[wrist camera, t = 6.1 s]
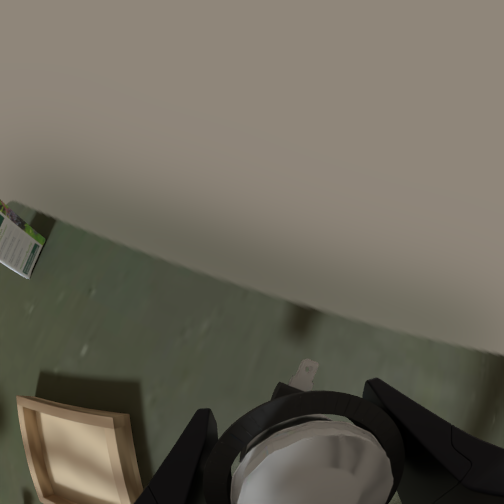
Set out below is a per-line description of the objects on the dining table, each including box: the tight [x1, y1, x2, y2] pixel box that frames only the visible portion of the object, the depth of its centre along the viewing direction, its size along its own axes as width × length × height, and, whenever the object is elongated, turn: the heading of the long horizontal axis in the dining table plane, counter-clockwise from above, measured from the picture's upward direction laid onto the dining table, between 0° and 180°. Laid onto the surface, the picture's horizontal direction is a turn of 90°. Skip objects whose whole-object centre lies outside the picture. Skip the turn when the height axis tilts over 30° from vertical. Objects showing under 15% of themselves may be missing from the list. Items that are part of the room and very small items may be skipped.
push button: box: [203, 359, 405, 504], centre depth 8 cm, size 7×5×10 cm
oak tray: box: [16, 395, 143, 504], centre depth 14 cm, size 13×13×3 cm
